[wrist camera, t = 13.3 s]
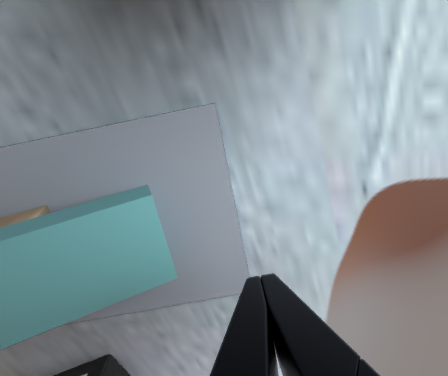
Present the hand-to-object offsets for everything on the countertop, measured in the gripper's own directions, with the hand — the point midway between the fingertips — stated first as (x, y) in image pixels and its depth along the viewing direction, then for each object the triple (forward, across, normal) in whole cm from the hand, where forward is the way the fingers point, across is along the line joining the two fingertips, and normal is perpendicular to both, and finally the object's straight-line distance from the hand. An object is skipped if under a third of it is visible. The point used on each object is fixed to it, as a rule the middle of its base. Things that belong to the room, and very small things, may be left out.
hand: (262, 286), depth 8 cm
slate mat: (+8, +12, +1) cm, 15 cm away
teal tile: (+6, +5, +1) cm, 8 cm away
